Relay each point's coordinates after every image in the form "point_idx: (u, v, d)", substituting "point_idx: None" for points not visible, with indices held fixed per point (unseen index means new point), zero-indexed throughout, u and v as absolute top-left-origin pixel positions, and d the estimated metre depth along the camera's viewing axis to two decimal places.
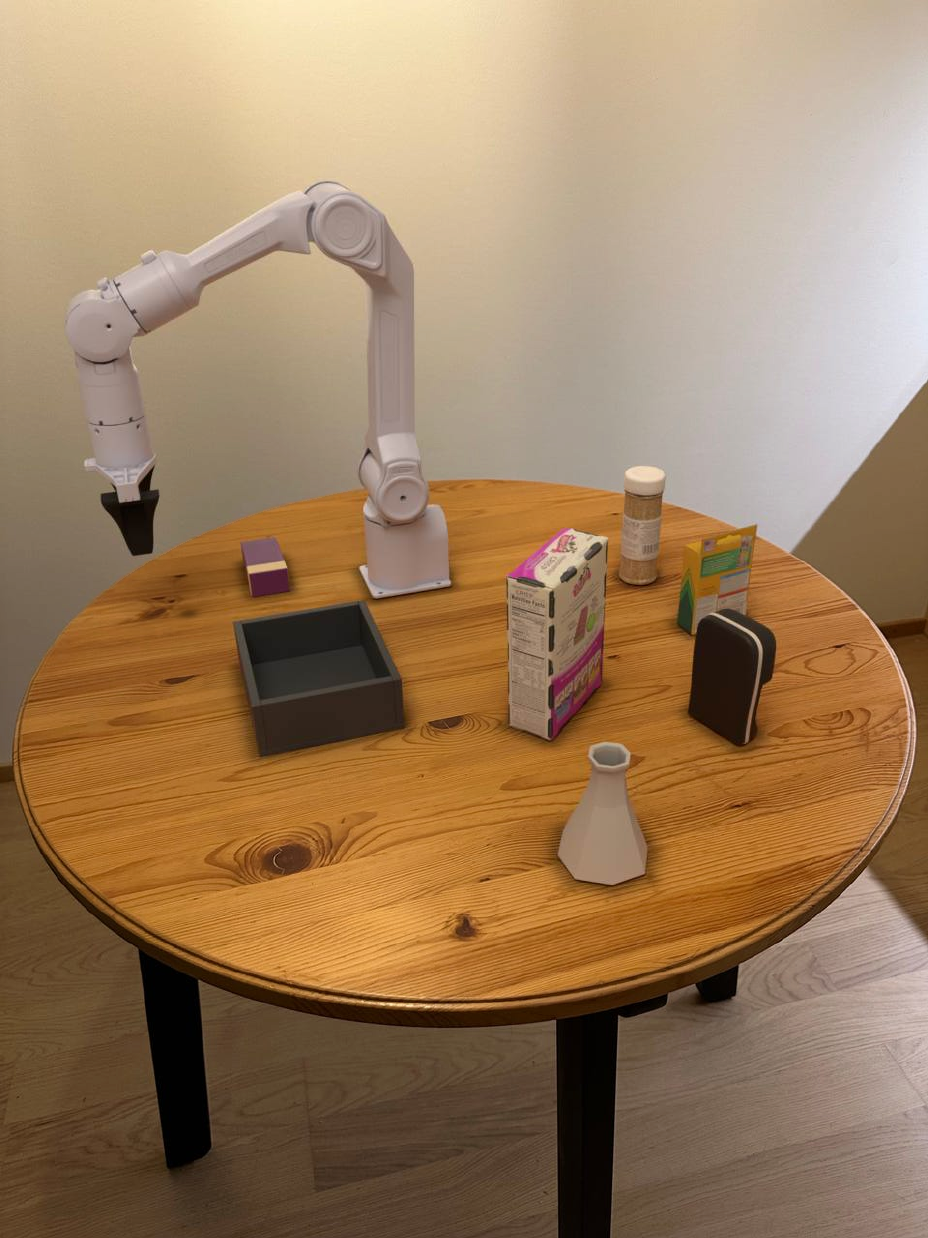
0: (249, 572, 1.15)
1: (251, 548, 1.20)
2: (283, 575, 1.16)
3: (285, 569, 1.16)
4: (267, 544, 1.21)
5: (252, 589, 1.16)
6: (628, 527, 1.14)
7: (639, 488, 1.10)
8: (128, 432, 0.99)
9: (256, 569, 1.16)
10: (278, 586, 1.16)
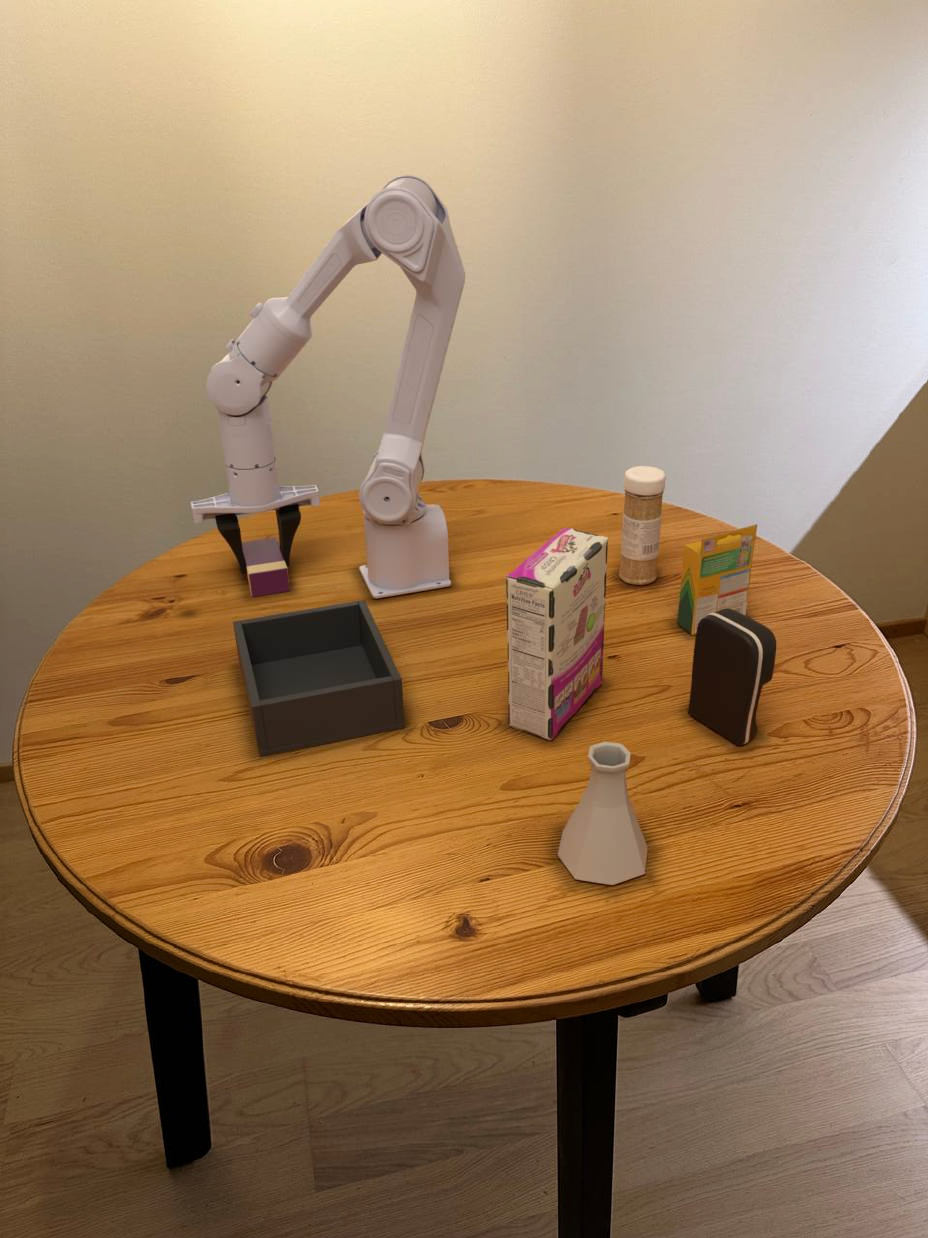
0: (249, 572, 1.15)
1: (251, 548, 1.20)
2: (283, 575, 1.16)
3: (285, 569, 1.16)
4: (267, 544, 1.21)
5: (252, 589, 1.16)
6: (628, 527, 1.14)
7: (639, 488, 1.10)
8: (228, 474, 1.12)
9: (256, 569, 1.16)
10: (278, 586, 1.16)
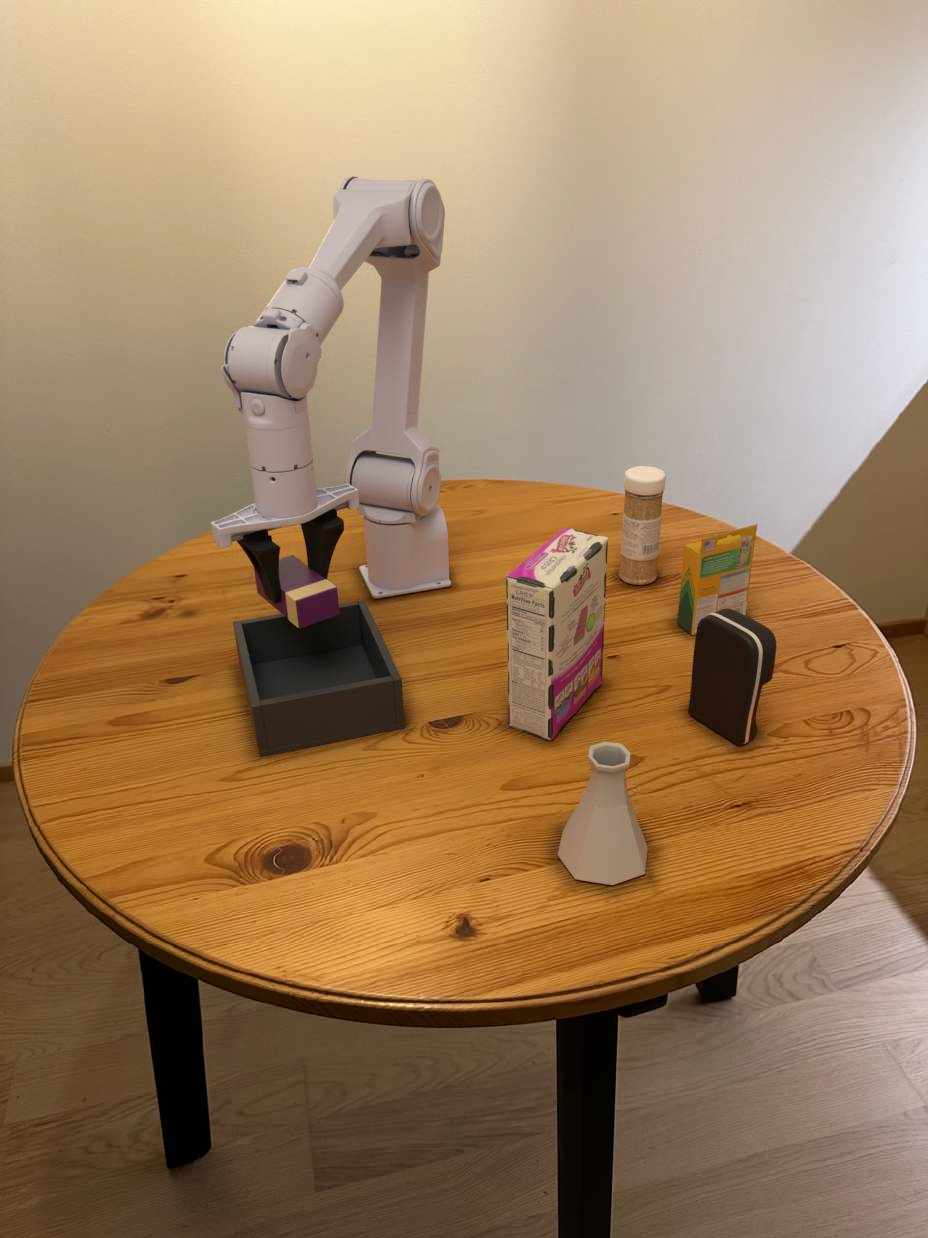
0: (294, 599, 0.93)
1: None
2: (333, 596, 0.95)
3: (335, 588, 0.95)
4: (289, 564, 0.99)
5: (299, 619, 0.94)
6: (628, 527, 1.14)
7: (639, 488, 1.10)
8: (260, 480, 0.89)
9: (300, 594, 0.94)
10: (327, 611, 0.95)
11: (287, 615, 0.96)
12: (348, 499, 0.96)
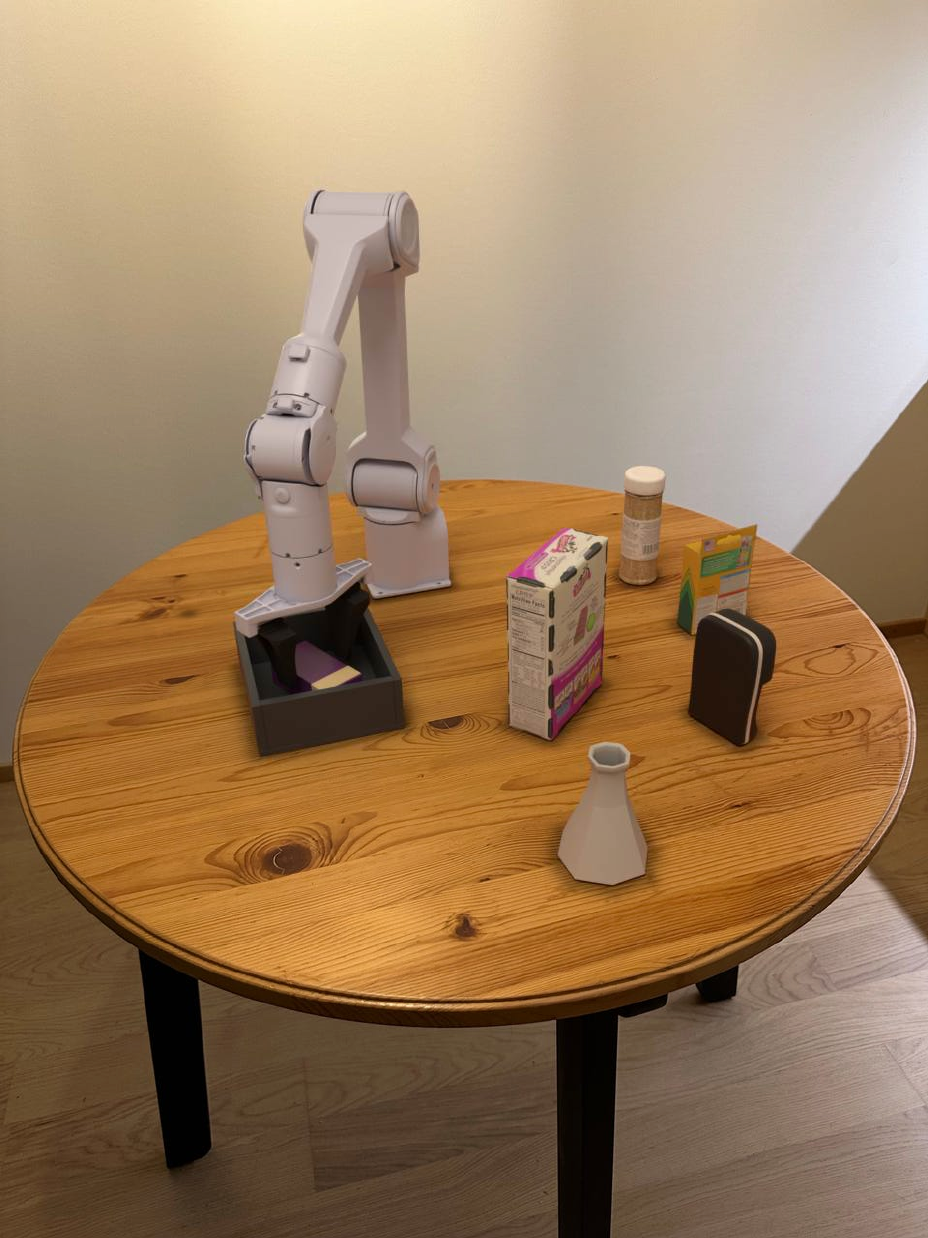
0: None
1: None
2: None
3: (360, 675, 0.95)
4: (305, 651, 0.99)
5: None
6: (628, 527, 1.14)
7: (639, 488, 1.10)
8: (284, 566, 0.88)
9: (327, 685, 0.94)
10: None
11: None
12: (364, 575, 0.95)
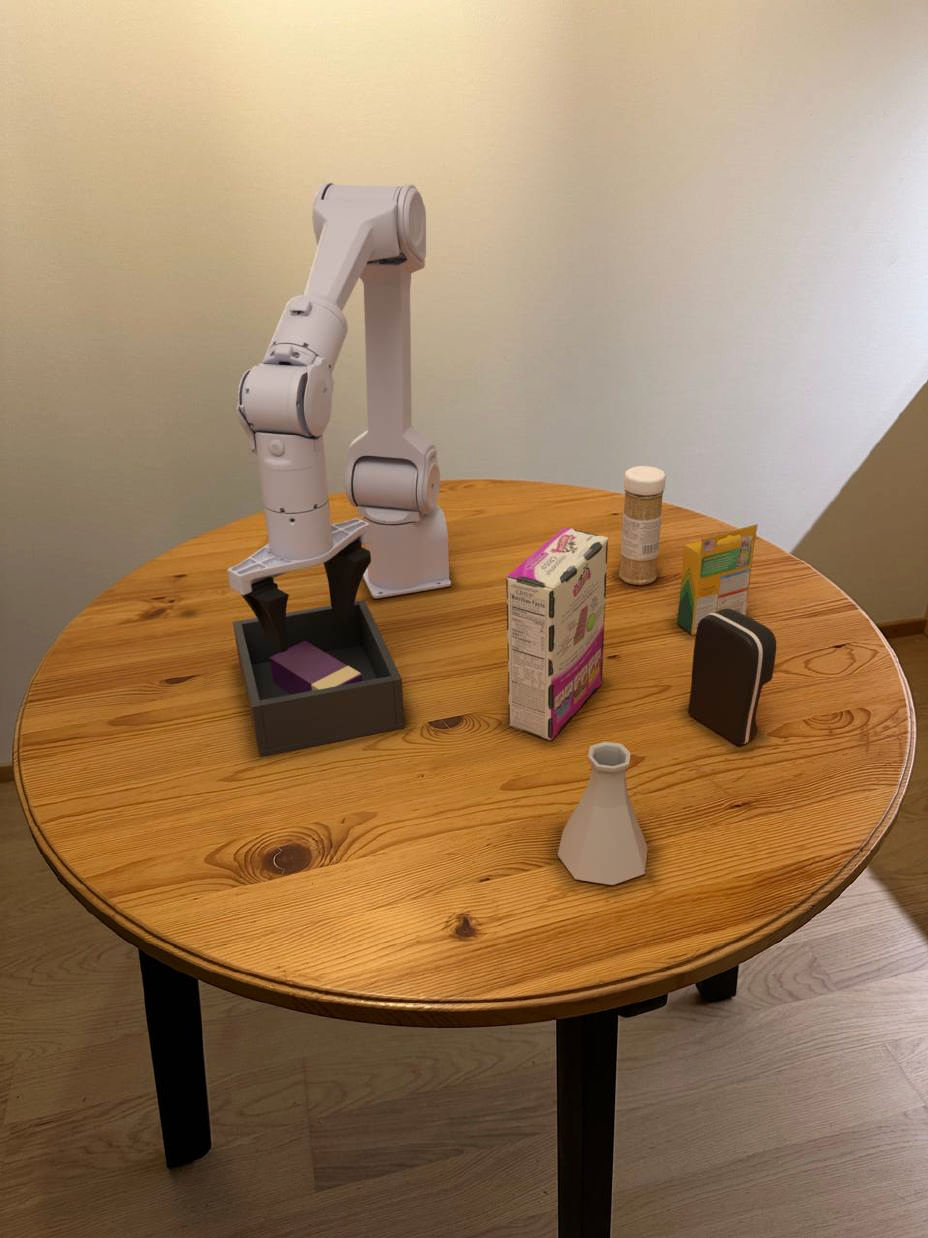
0: None
1: (292, 661, 0.97)
2: None
3: (360, 675, 0.95)
4: (305, 651, 0.99)
5: None
6: (628, 527, 1.14)
7: (639, 488, 1.10)
8: (278, 522, 0.86)
9: (327, 685, 0.94)
10: None
11: None
12: (360, 534, 0.93)
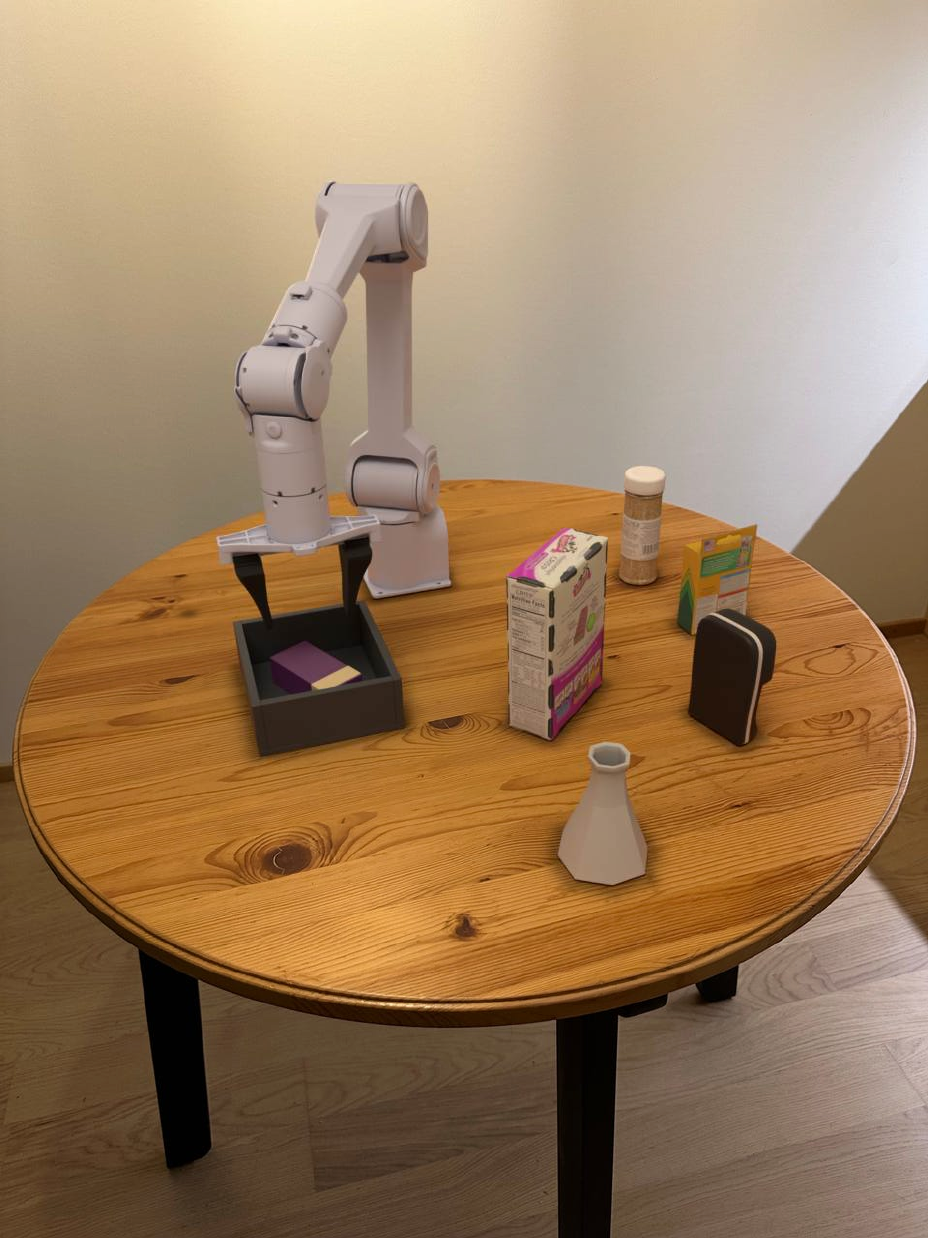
0: None
1: (292, 661, 0.97)
2: None
3: (360, 675, 0.95)
4: (305, 651, 0.99)
5: None
6: (628, 527, 1.14)
7: (639, 488, 1.10)
8: None
9: (327, 685, 0.94)
10: None
11: None
12: None
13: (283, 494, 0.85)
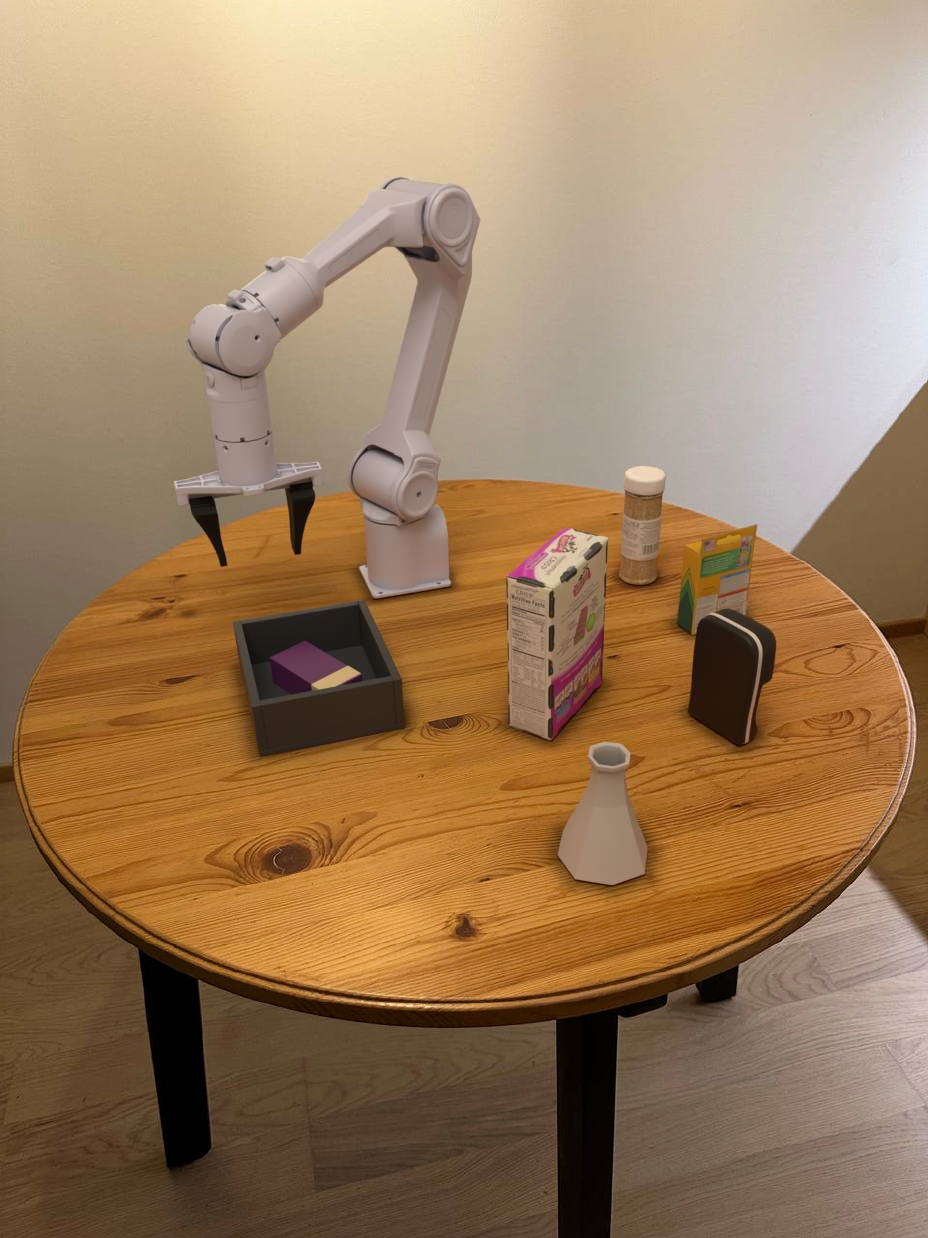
0: None
1: (292, 661, 0.97)
2: None
3: (360, 675, 0.95)
4: (305, 651, 0.99)
5: None
6: (628, 527, 1.14)
7: (639, 488, 1.10)
8: None
9: (327, 685, 0.94)
10: None
11: None
12: None
13: (218, 438, 0.95)
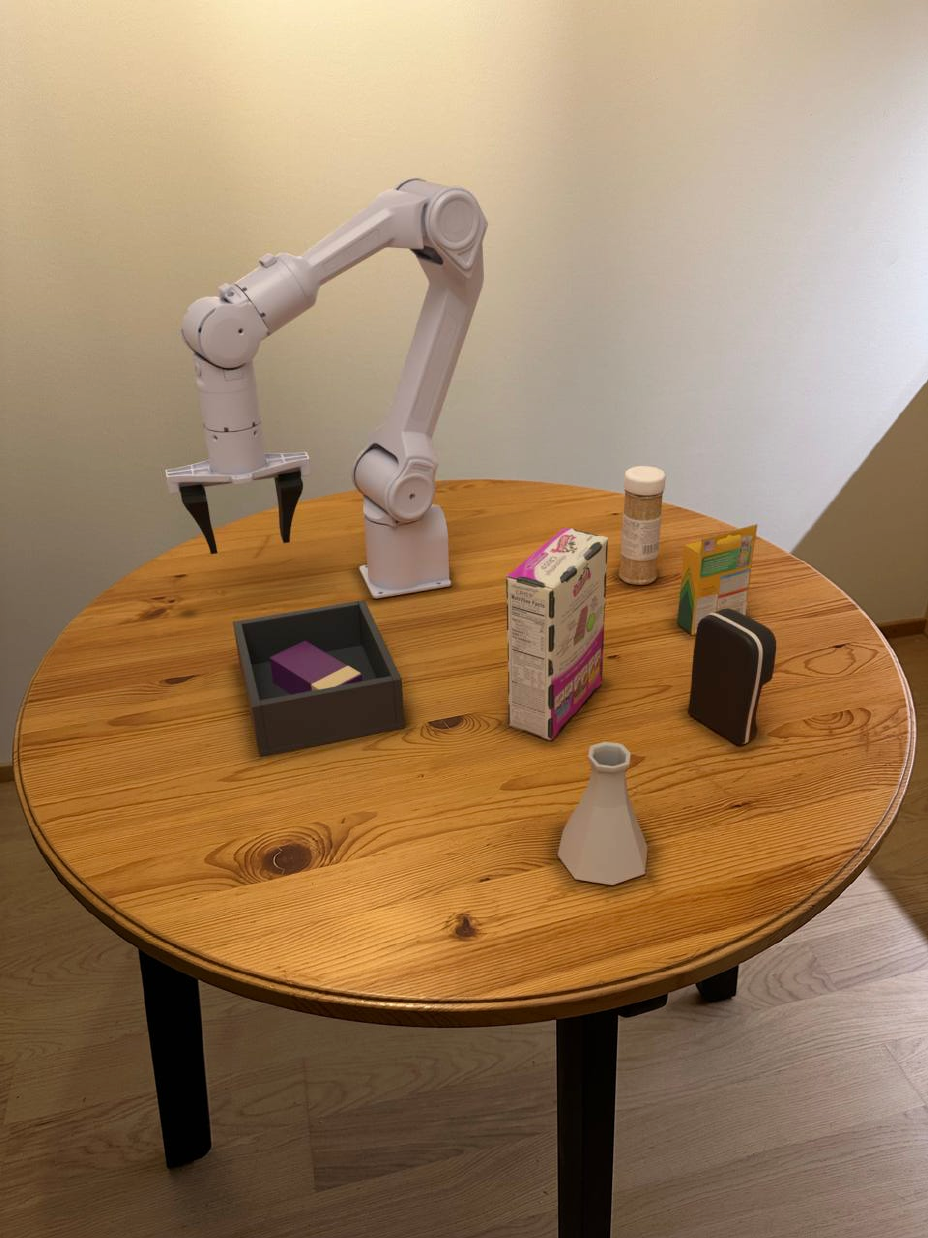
0: None
1: (292, 661, 0.97)
2: None
3: (360, 675, 0.95)
4: (305, 651, 0.99)
5: None
6: (628, 527, 1.14)
7: (639, 488, 1.10)
8: None
9: (327, 685, 0.94)
10: None
11: None
12: None
13: (205, 426, 0.98)
